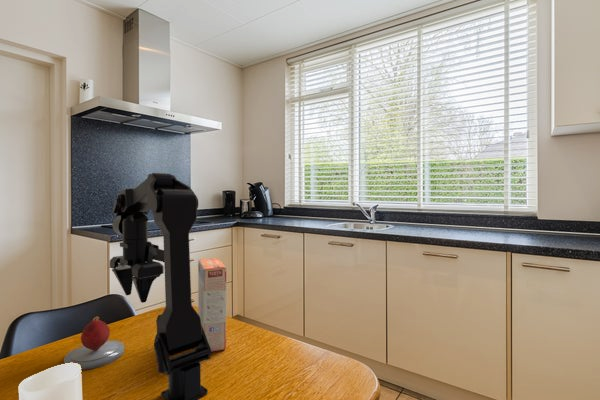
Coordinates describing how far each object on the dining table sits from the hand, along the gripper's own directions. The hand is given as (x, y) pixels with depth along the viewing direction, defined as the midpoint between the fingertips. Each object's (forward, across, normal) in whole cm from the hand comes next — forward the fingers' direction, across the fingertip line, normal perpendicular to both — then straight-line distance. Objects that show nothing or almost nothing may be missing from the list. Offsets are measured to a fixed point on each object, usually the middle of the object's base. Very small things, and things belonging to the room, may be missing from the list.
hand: (135, 298), depth 82 cm
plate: (+12, +1, +9) cm, 15 cm away
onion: (+11, +1, +9) cm, 14 cm away
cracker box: (+12, -13, -14) cm, 23 cm away
